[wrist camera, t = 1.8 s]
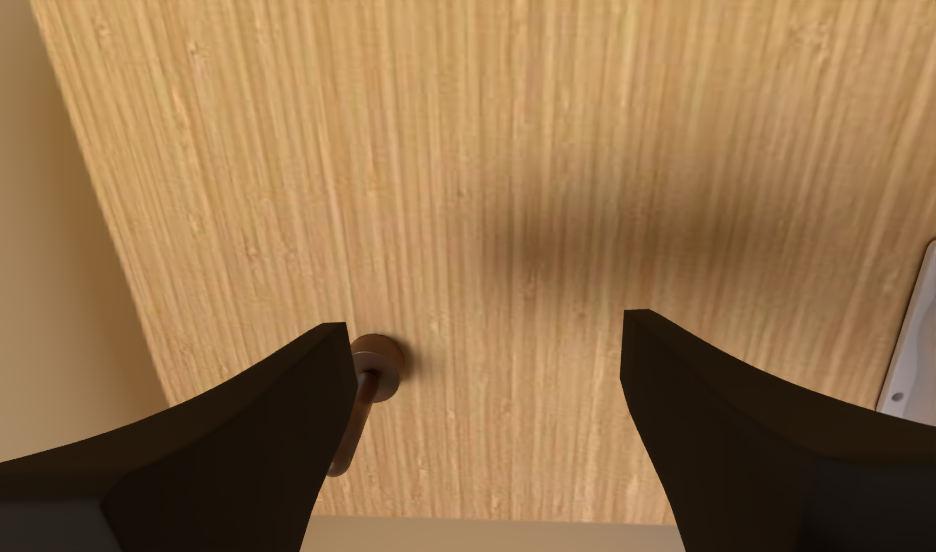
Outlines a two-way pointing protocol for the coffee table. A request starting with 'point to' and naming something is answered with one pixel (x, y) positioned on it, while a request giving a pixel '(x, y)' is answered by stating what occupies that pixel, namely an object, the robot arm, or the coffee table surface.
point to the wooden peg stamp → (368, 390)
